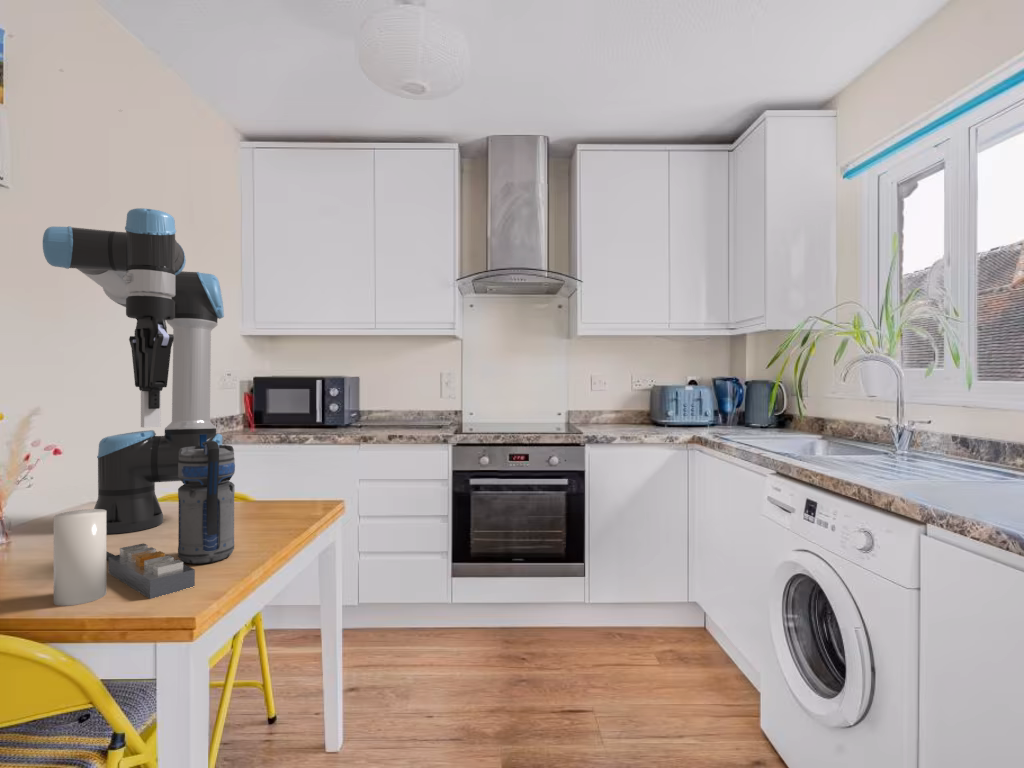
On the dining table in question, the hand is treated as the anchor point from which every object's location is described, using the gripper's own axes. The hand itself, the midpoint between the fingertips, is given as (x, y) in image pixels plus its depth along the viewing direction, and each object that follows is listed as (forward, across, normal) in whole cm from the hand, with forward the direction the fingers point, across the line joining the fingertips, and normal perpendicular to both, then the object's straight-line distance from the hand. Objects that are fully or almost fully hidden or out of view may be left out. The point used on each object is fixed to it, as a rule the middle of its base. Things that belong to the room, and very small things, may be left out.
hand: (150, 426), depth 103 cm
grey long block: (+28, 0, 0) cm, 28 cm away
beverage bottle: (+28, -4, +12) cm, 31 cm away
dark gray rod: (+28, -19, 0) cm, 34 cm away
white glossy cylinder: (+28, 0, -11) cm, 30 cm away
